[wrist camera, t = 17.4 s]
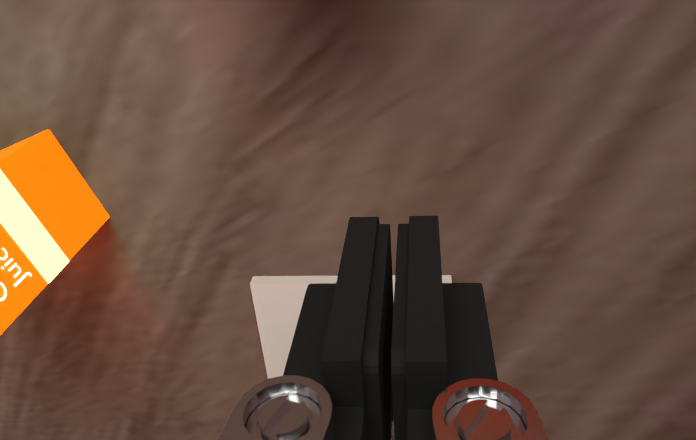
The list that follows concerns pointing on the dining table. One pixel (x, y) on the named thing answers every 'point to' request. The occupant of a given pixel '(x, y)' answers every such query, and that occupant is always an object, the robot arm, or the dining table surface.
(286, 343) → the mounting board
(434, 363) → the robot arm
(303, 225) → the dining table surface
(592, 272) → the dining table surface
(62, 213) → the orange juice
